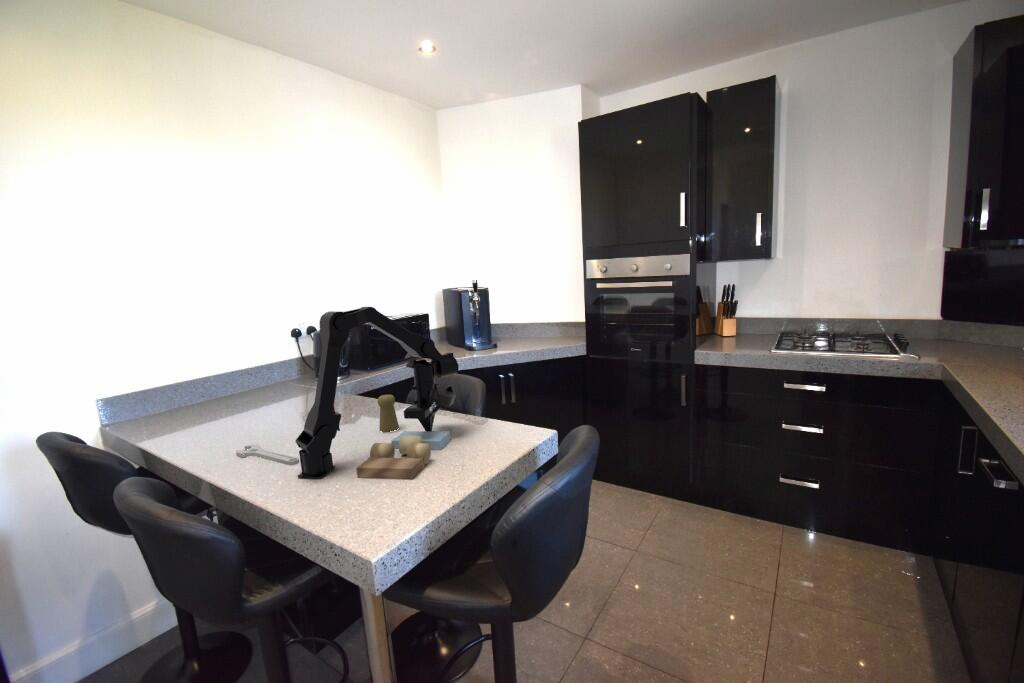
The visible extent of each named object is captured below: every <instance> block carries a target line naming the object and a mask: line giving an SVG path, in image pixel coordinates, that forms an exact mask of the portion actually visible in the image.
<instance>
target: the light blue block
mask: <svg viewBox="0 0 1024 683" xmlns="http://www.w3.org/2000/svg"><path fill="white" fill-rule="evenodd" d="M451 438H452V437H451V431H449V430H448V431H447V430H446V431H445V430H443V431H441V430H440V431H439V430H438V431H437V430H436V431H435V430H432V431H425V430H424V431H420V430H418V431H415V430H413V431H412V430H409V431H407V430H406V431H405V430H404V431H403V432H401V433H400V434H399V435H397V436H396V437H394V438H393V439H392V440H391V443H392V444H393V446H394V449H399V450H398V452H399V454H400V455H407V450H408V447H409V445H410V444H411V443H427V444H429V445H430V449H431V451H441V450H442V449H443V448H445V446H446V445H447V444H448V443H449V442H450V441H451V440H450V439H451ZM449 440H450V441H449Z"/></svg>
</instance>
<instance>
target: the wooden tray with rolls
mask: <svg viewBox="0 0 1024 683" xmlns="http://www.w3.org/2000/svg"><path fill="white" fill-rule="evenodd" d="M431 452H432V450H431V449H430V445H429V444H427V443H411V444H410V445H409V447H408V450H407V454H406V457H404V458H403V457H395V455H396V454H395V449H394V446H393V444H392V442H374V443H373V444H372V445H371V448H370V450H369V457H368V458H367V459H366V460H364V461H363V462H361V464H359V465H357V466H356V476H357V478H359V479H360V477H361V479H387V478H390V480H391V479H394V480H395V479H396V480H414V478H416V477H417V475H418V474H419V473H420V472H421V471H422V470H423V469H425V465H427V464H429V463H430V460H431V456H432V455H431V454H432V453H431Z"/></svg>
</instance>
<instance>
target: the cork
mask: <svg viewBox="0 0 1024 683" xmlns="http://www.w3.org/2000/svg"><path fill="white" fill-rule="evenodd" d="M395 402H396V398H395V396H394V395H393V394H383V395H380V396H379V397H378V398H377V405H378V407H379V431H382V432H390V431H394V430H397V429H398V428H399V429H400V426H399V421H398V417H397V413H396V410H395V409H396V408H395ZM397 431H398V430H397Z"/></svg>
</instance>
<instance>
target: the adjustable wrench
mask: <svg viewBox="0 0 1024 683" xmlns="http://www.w3.org/2000/svg"><path fill="white" fill-rule="evenodd" d="M247 449H248V450H247ZM235 454H236V457H238V456H239V457H238V458H240V459H243V458H242V457H244V458H248V457H247V456H253V457H254V456H257V458H260V457H261V458H260V459H263V458H265V459H264V460H267V459H268V460H269V461H271V460H272V462H275V461H276V463H279V464H283V465H288V466H295V465H298V464H299V463H300V457H296V456H291V455H288V454H287V455H286V454H283V453H279V452H274V451H269V450H265V449H262V448H261V445H260V444H258V443H257V444H255V443H254V444H247V445H244V449H236V450H235Z"/></svg>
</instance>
